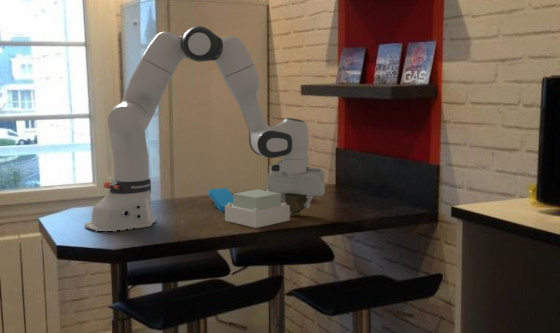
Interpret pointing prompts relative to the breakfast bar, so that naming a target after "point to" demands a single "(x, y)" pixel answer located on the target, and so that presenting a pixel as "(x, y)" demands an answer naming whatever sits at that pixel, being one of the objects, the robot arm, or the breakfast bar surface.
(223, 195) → the blue long block
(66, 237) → the breakfast bar surface
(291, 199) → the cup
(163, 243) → the breakfast bar surface
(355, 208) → the breakfast bar surface
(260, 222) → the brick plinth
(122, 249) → the breakfast bar surface
